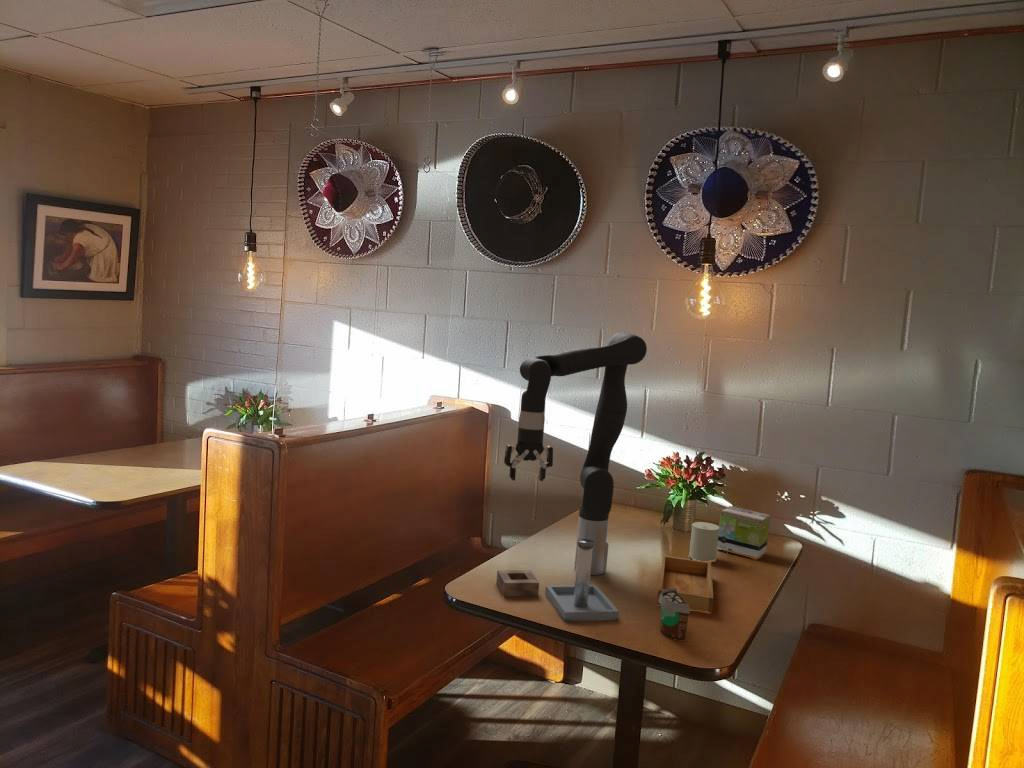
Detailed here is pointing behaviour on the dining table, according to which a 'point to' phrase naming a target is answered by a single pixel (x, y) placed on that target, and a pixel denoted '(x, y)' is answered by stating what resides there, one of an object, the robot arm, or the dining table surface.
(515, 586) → the socket block
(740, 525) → the tea box
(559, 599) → the pin tray
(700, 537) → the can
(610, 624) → the dining table surface
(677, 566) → the tray
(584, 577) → the steel pin
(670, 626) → the food container
